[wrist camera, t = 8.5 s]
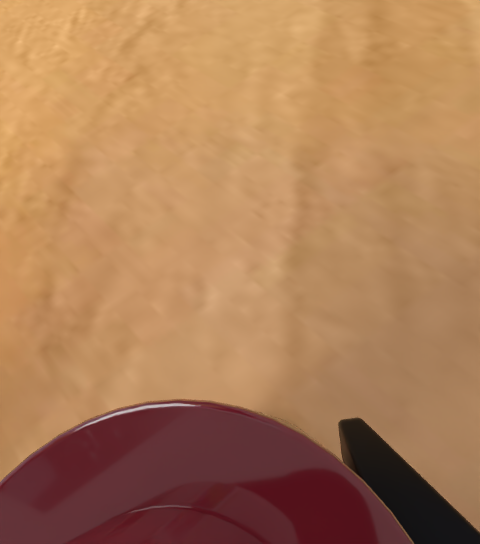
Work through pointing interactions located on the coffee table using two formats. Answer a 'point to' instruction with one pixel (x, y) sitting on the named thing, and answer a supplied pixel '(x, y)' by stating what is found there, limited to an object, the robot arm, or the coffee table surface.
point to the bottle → (189, 483)
